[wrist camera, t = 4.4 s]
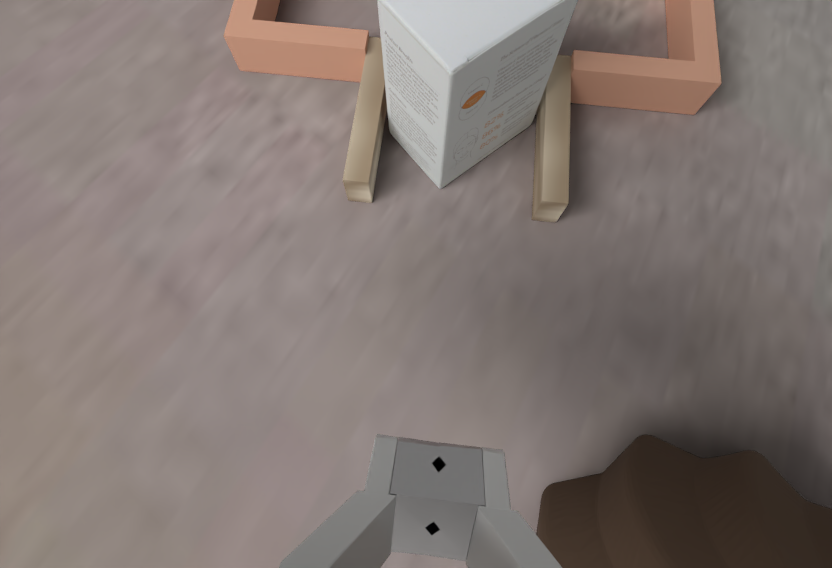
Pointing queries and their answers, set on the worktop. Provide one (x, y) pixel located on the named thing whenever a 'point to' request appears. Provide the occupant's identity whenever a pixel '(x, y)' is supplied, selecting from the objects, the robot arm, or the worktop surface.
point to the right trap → (656, 67)
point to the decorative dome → (683, 514)
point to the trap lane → (548, 142)
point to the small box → (466, 74)
